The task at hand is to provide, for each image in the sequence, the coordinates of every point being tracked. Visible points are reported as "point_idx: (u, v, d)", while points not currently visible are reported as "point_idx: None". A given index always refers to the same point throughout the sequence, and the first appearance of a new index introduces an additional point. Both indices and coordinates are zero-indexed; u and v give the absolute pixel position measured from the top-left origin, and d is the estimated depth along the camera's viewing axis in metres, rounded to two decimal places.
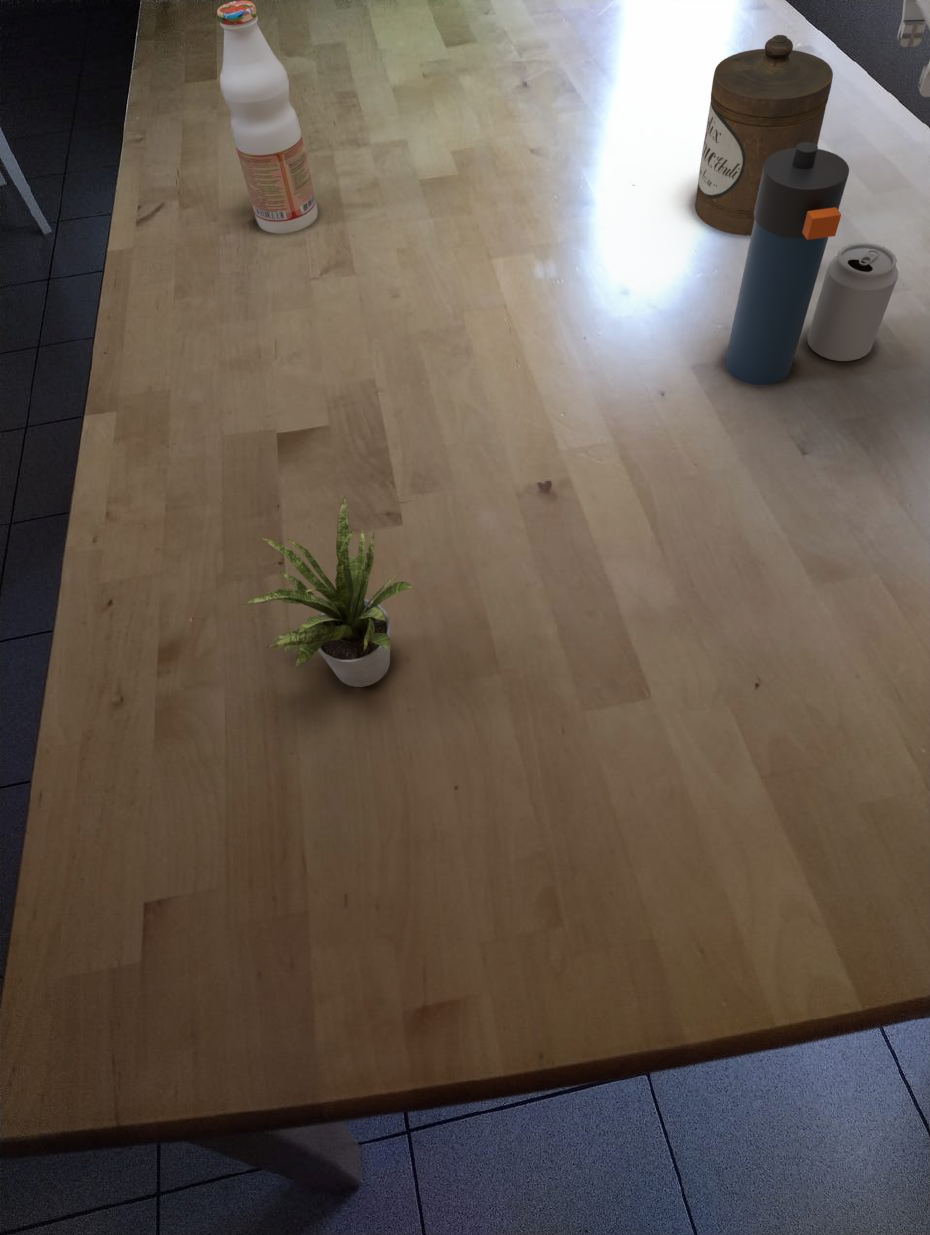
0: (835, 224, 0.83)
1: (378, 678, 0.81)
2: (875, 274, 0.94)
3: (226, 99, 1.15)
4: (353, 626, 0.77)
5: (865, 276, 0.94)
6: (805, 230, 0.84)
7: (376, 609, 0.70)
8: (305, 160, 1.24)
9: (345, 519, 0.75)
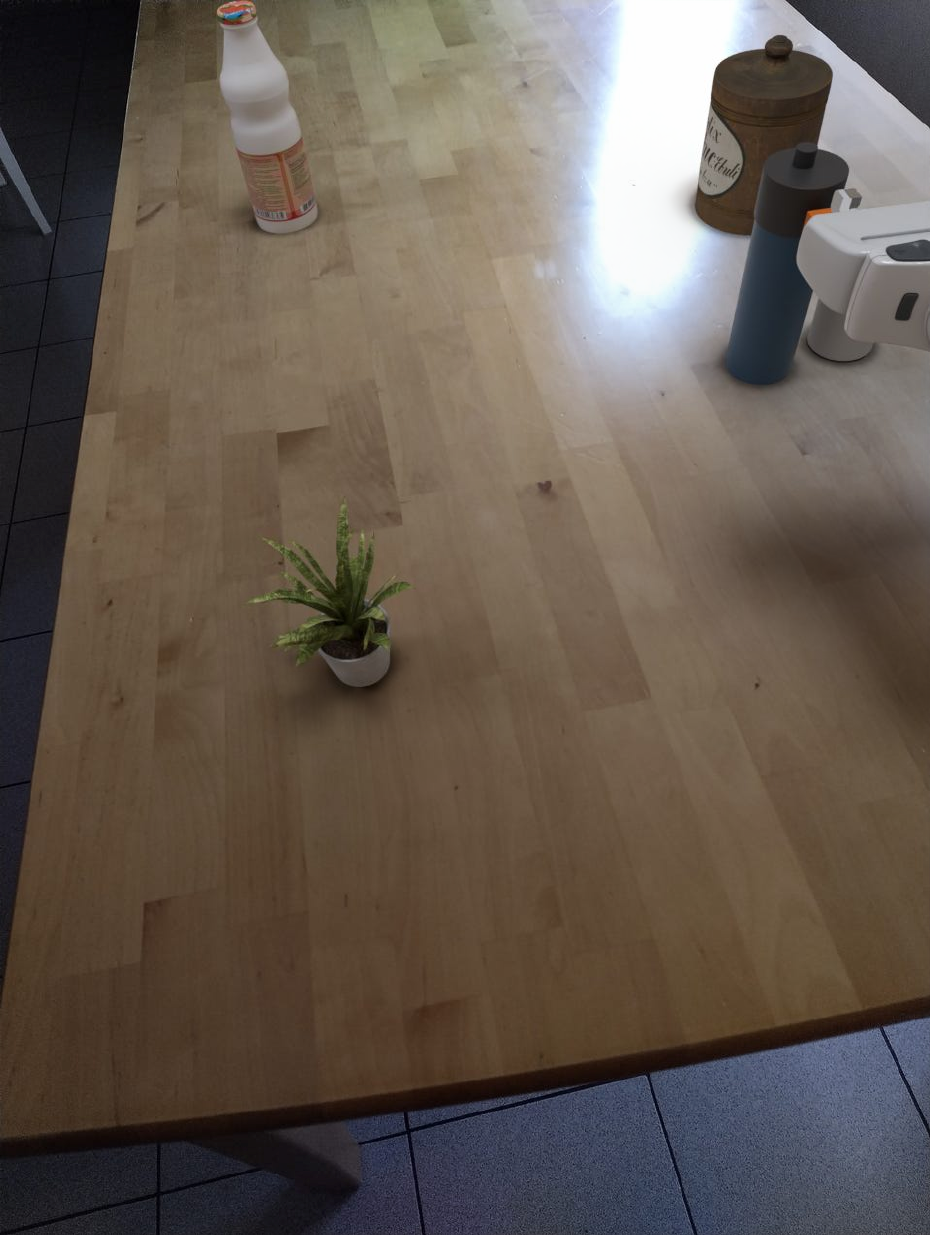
0: None
1: (378, 678, 0.81)
2: None
3: (226, 99, 1.15)
4: (353, 626, 0.77)
5: None
6: None
7: (376, 609, 0.70)
8: (305, 160, 1.24)
9: (345, 519, 0.75)
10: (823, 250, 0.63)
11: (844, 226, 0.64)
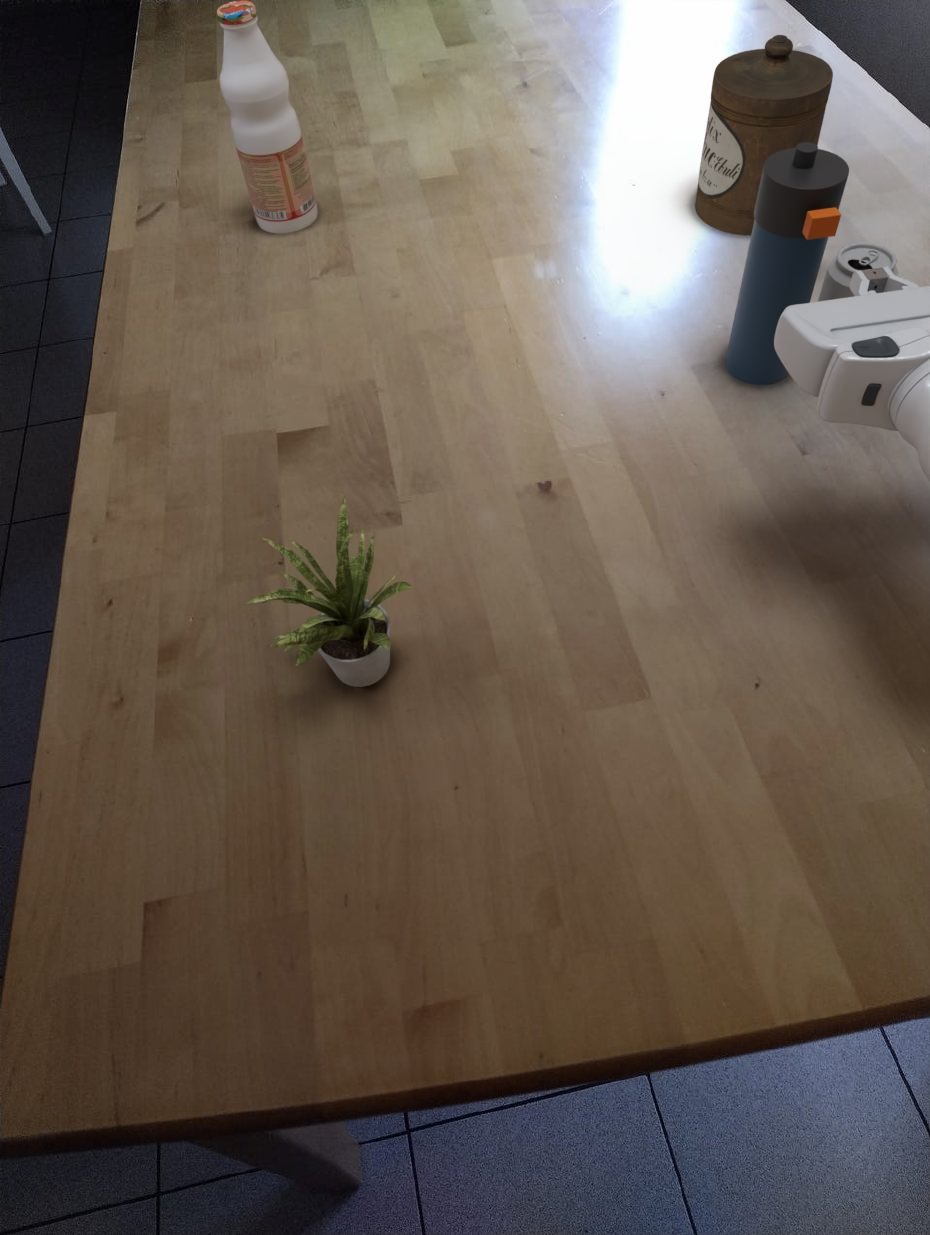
0: (835, 224, 0.83)
1: (378, 678, 0.81)
2: None
3: (226, 99, 1.15)
4: (353, 626, 0.77)
5: None
6: (805, 230, 0.84)
7: (376, 609, 0.70)
8: (305, 160, 1.24)
9: (345, 519, 0.75)
10: (797, 340, 0.70)
11: (815, 318, 0.71)
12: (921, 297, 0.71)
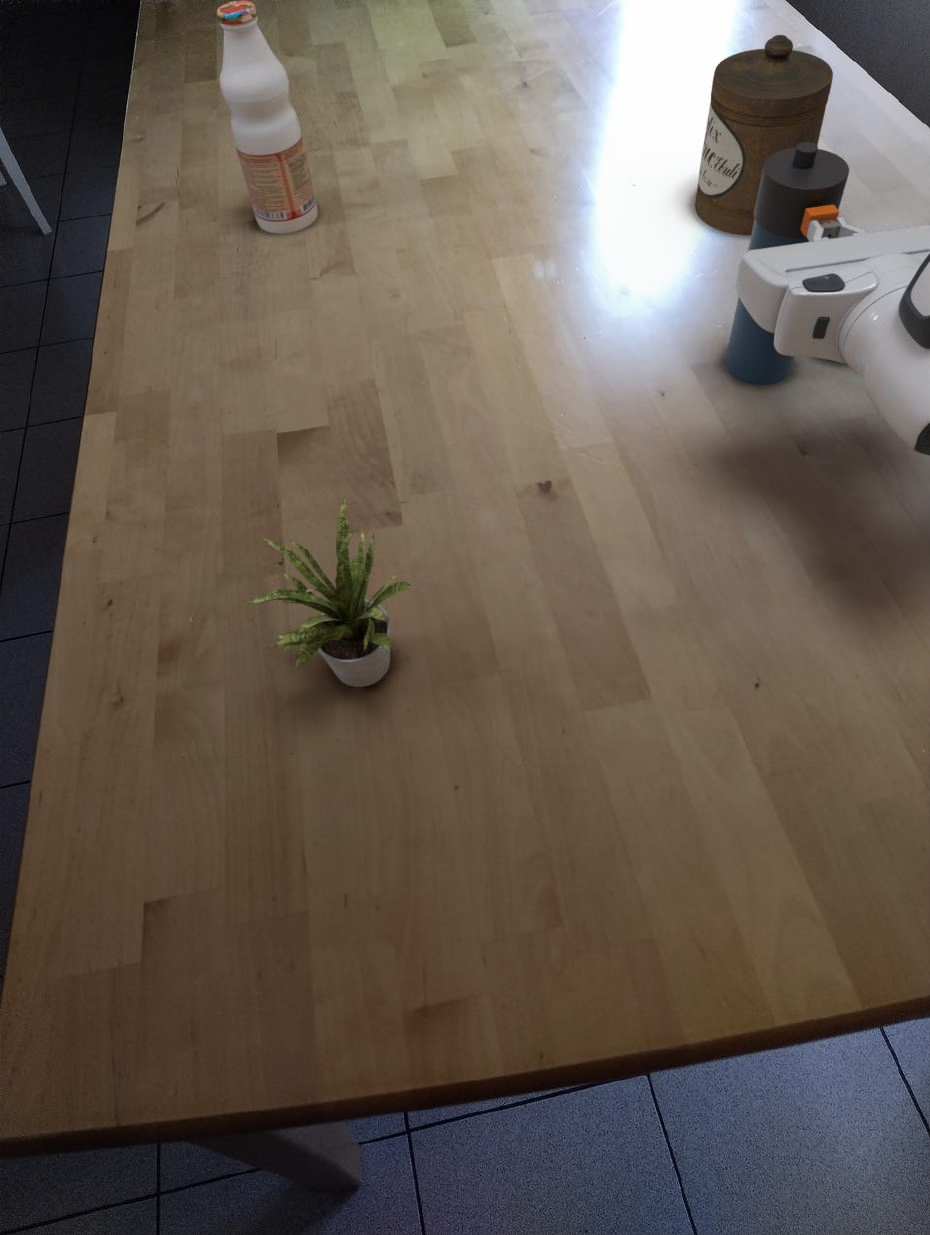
0: None
1: (378, 678, 0.81)
2: None
3: (226, 99, 1.15)
4: (353, 626, 0.77)
5: None
6: (803, 228, 0.84)
7: (376, 609, 0.70)
8: (305, 160, 1.24)
9: (345, 519, 0.75)
10: (755, 281, 0.77)
11: (772, 260, 0.77)
12: (869, 242, 0.78)
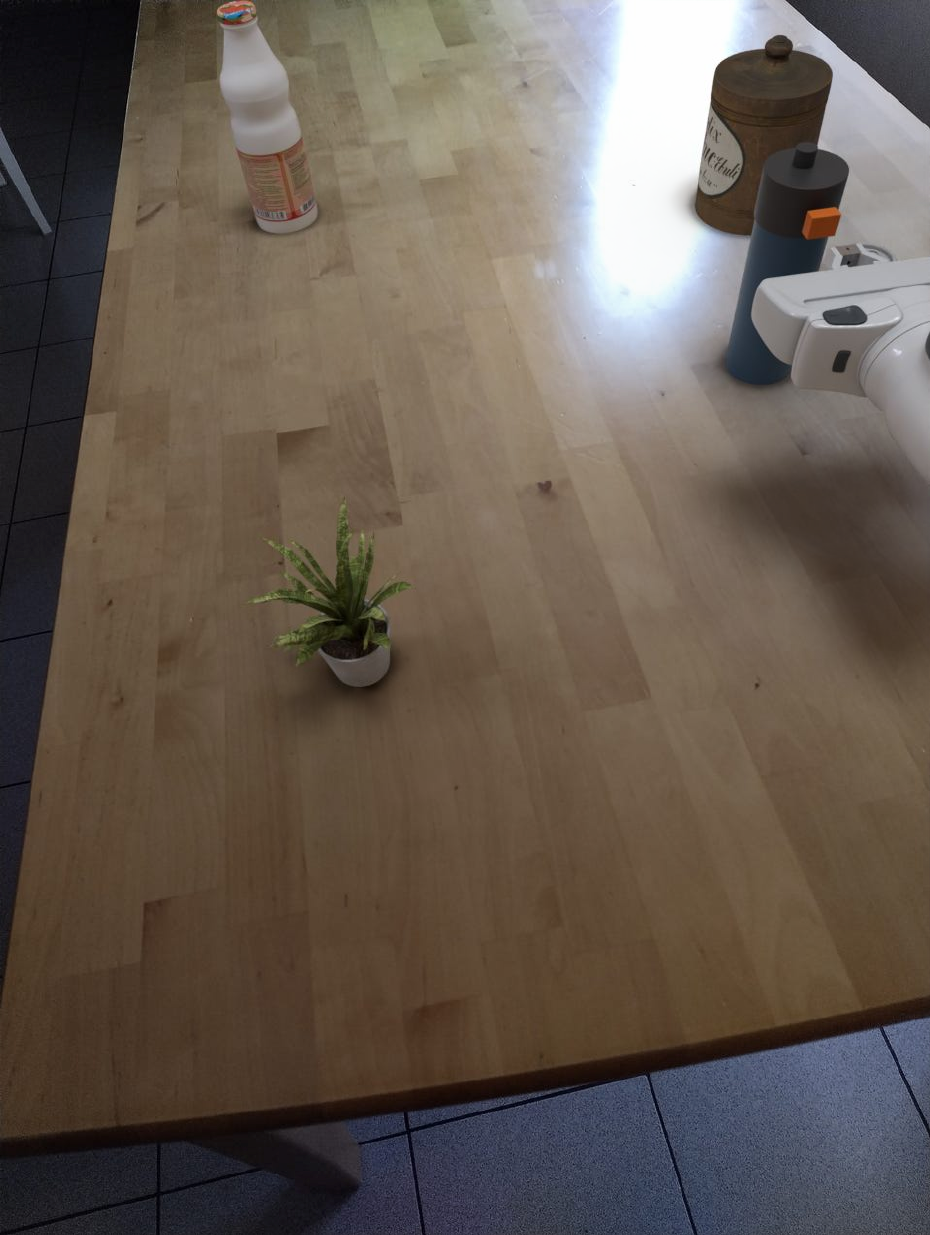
0: (835, 224, 0.83)
1: (378, 678, 0.81)
2: None
3: (226, 99, 1.15)
4: (353, 626, 0.77)
5: None
6: (805, 230, 0.84)
7: (376, 609, 0.70)
8: (305, 160, 1.24)
9: (345, 519, 0.75)
10: (772, 311, 0.74)
11: (790, 290, 0.74)
12: (890, 271, 0.75)
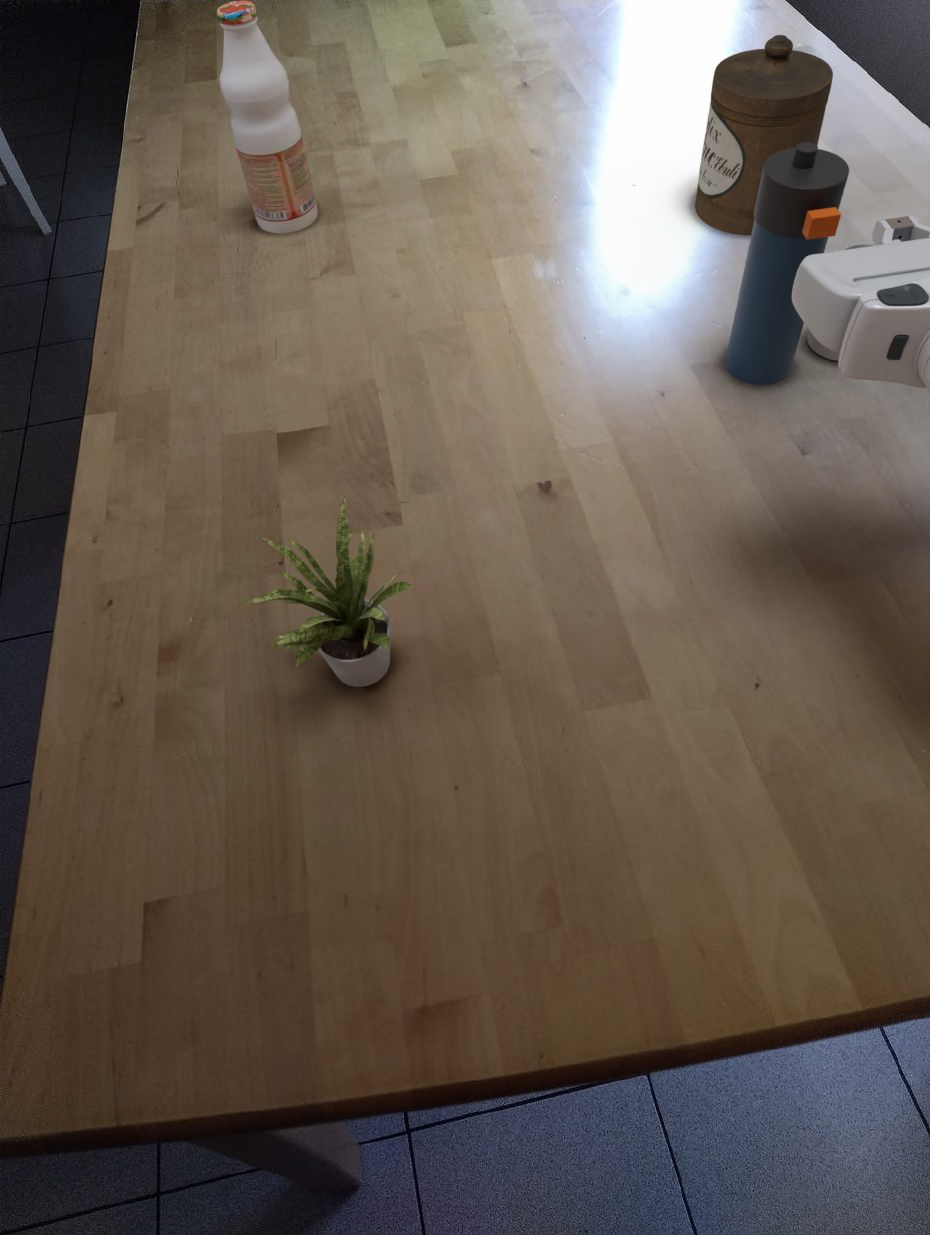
0: (835, 224, 0.83)
1: (378, 678, 0.81)
2: None
3: (226, 99, 1.15)
4: (353, 626, 0.77)
5: None
6: (805, 230, 0.84)
7: (376, 609, 0.70)
8: (305, 160, 1.24)
9: (345, 519, 0.75)
10: (817, 291, 0.65)
11: (837, 267, 0.66)
12: None
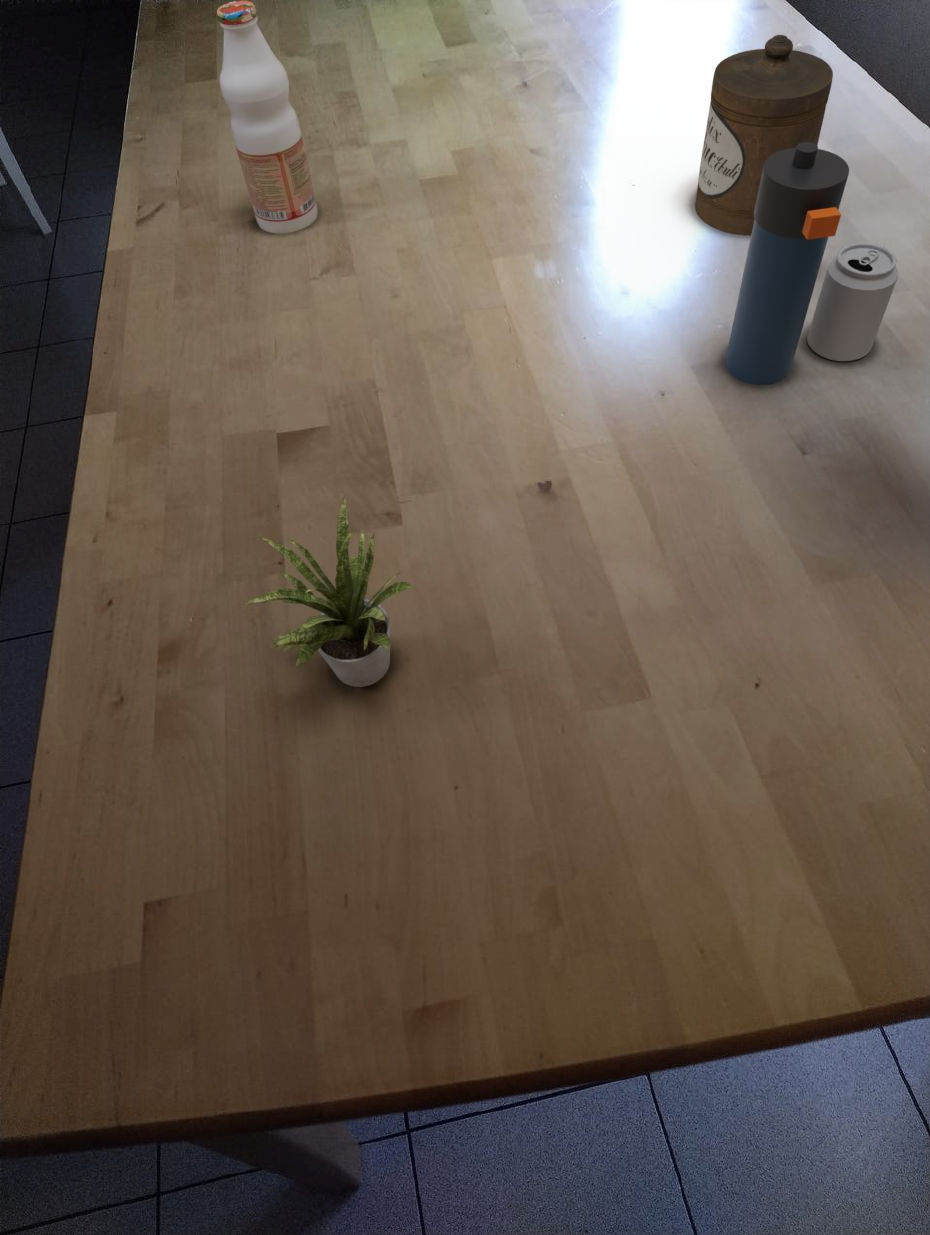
0: (835, 224, 0.83)
1: (378, 678, 0.81)
2: (875, 274, 0.94)
3: (226, 99, 1.15)
4: (353, 626, 0.77)
5: (865, 276, 0.94)
6: (805, 230, 0.84)
7: (376, 609, 0.70)
8: (305, 160, 1.24)
9: (345, 519, 0.75)
10: None
11: None
12: None
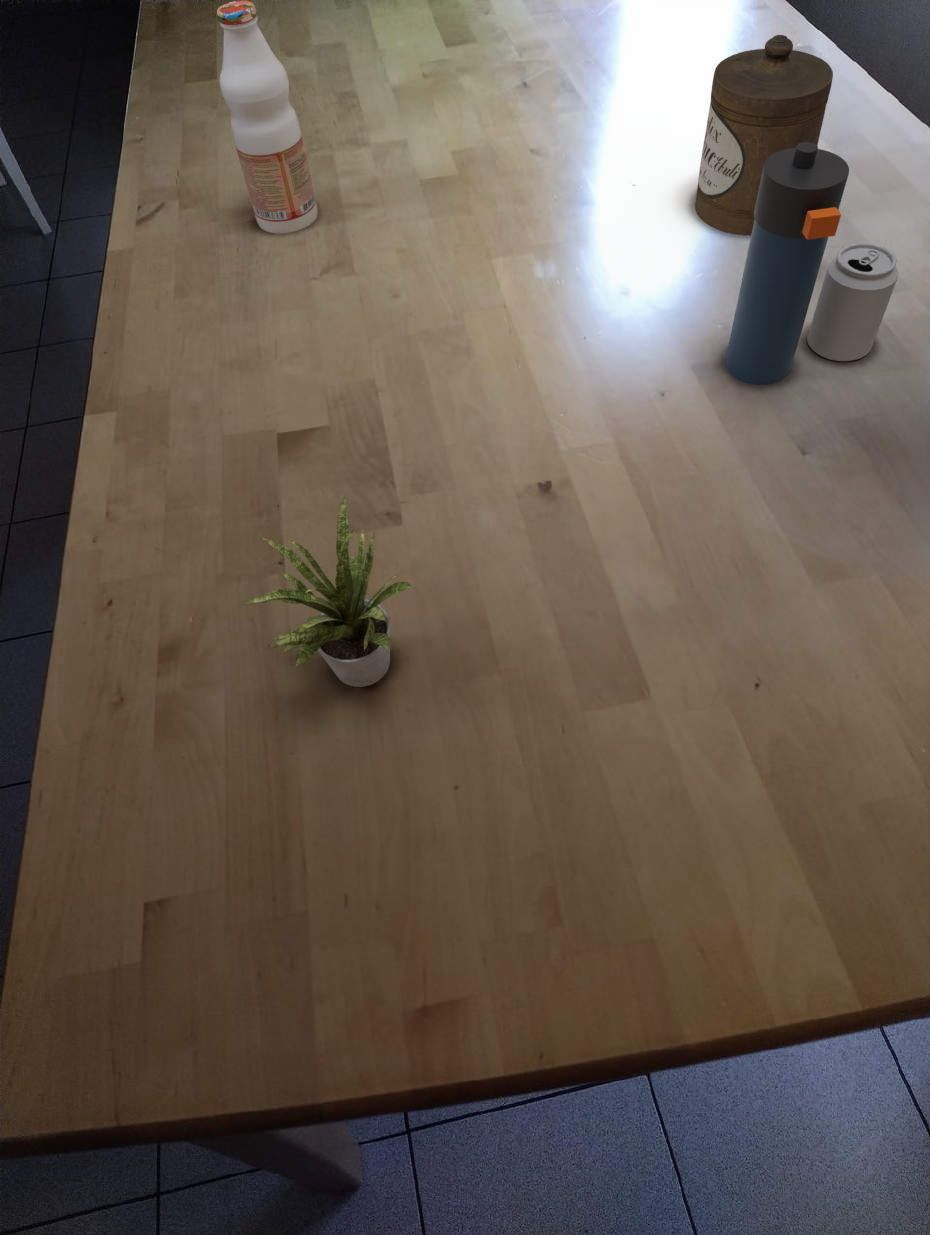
0: (835, 224, 0.83)
1: (378, 678, 0.81)
2: (875, 274, 0.94)
3: (226, 99, 1.15)
4: (353, 626, 0.77)
5: (865, 276, 0.94)
6: (805, 230, 0.84)
7: (376, 609, 0.70)
8: (305, 160, 1.24)
9: (345, 519, 0.75)
10: None
11: None
12: None
